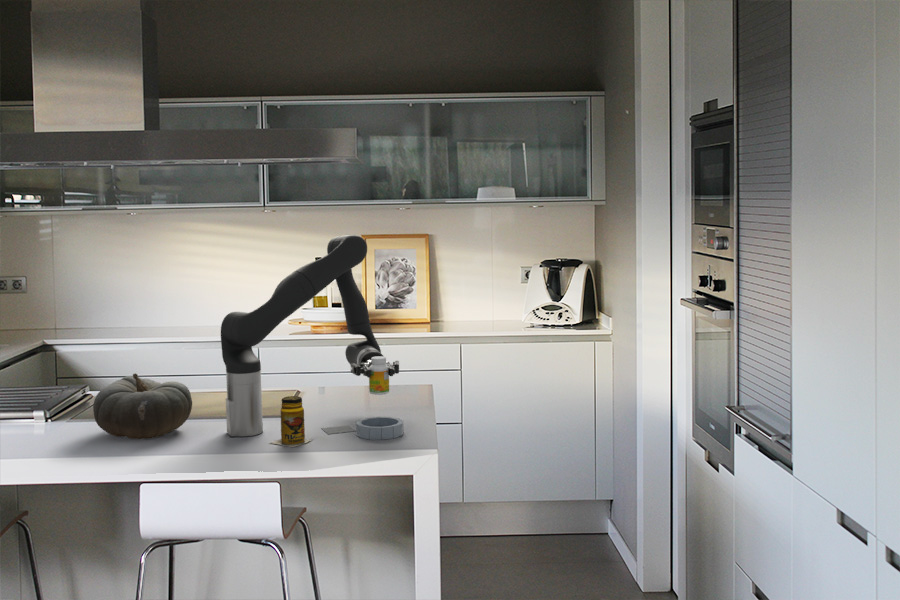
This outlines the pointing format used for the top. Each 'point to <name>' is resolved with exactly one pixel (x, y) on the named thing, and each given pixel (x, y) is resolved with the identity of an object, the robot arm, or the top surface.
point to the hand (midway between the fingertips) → (380, 373)
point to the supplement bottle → (379, 376)
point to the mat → (338, 429)
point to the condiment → (292, 422)
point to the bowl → (379, 428)
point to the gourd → (142, 407)
